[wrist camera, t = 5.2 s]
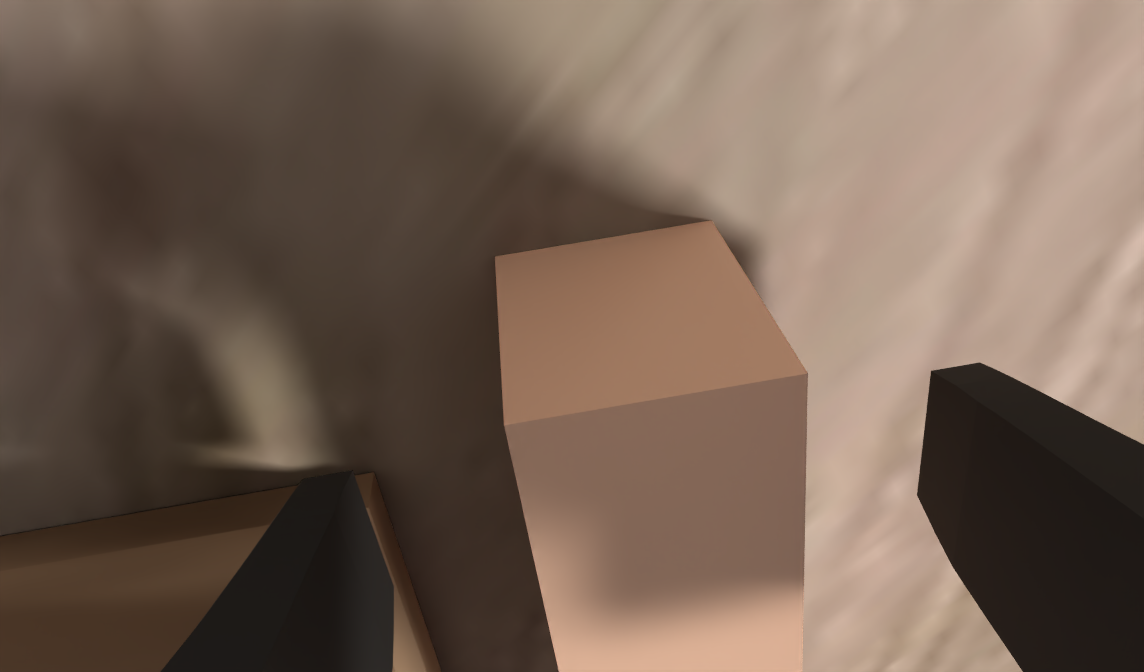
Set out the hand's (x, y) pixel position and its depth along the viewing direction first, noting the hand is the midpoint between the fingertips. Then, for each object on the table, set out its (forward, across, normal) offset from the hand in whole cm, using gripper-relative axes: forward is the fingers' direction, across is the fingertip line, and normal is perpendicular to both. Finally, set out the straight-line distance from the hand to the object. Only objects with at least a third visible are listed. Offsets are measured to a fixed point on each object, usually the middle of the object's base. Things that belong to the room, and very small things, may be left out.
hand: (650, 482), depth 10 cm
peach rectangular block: (+3, 0, +3) cm, 4 cm away
